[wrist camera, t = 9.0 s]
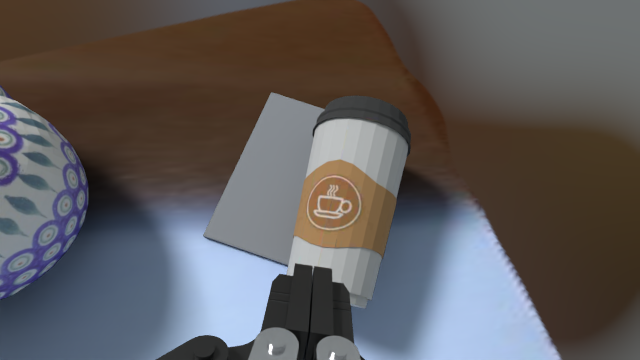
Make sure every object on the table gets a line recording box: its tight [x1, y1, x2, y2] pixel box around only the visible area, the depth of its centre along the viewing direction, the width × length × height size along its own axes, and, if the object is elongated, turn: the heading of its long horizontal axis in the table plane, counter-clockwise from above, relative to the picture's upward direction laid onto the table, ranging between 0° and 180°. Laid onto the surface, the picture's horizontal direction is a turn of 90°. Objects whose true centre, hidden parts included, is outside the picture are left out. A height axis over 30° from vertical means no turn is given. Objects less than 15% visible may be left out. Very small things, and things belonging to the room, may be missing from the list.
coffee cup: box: [287, 96, 411, 309], centre depth 28 cm, size 8×8×15 cm
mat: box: [203, 92, 325, 265], centre depth 33 cm, size 16×14×1 cm
